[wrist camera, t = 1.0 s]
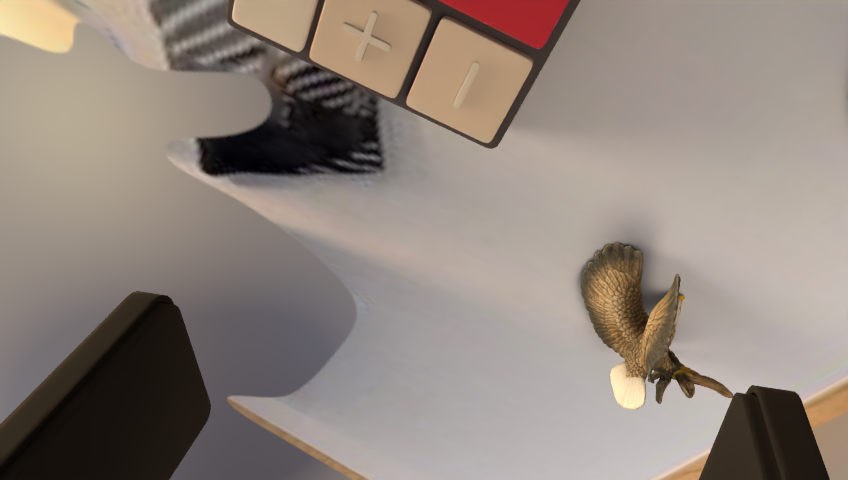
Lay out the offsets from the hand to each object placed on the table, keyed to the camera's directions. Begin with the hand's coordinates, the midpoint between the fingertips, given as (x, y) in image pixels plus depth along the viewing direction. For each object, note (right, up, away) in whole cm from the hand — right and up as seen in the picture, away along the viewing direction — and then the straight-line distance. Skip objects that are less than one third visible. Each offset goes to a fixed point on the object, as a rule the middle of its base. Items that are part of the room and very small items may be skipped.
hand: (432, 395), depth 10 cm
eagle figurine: (+14, -1, +27) cm, 30 cm away
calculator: (0, +16, +19) cm, 25 cm away
